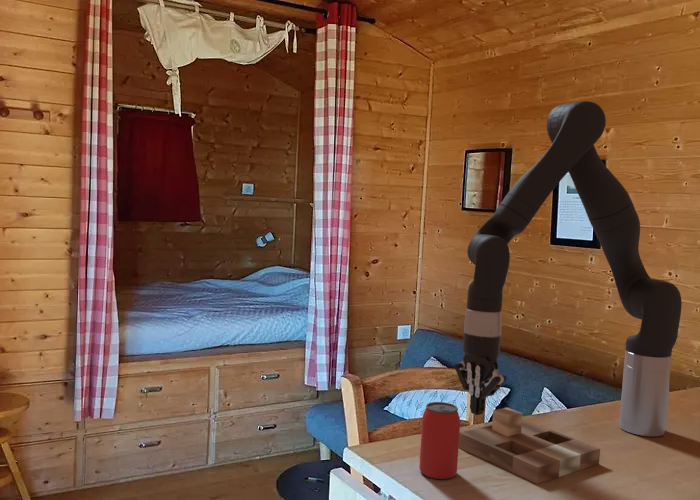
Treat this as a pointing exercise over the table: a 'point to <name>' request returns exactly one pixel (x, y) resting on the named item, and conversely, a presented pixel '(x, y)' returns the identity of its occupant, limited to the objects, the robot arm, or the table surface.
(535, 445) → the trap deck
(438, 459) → the beer can
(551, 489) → the table surface
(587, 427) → the table surface
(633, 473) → the table surface
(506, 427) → the maple block
